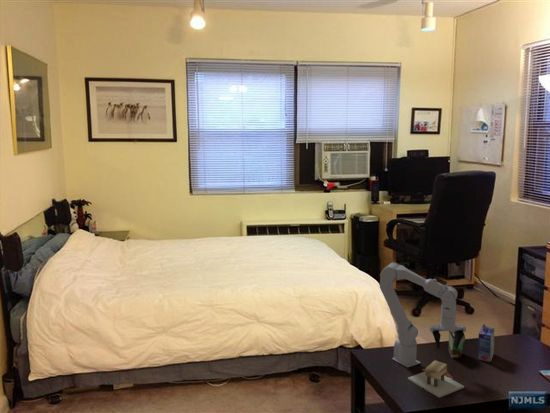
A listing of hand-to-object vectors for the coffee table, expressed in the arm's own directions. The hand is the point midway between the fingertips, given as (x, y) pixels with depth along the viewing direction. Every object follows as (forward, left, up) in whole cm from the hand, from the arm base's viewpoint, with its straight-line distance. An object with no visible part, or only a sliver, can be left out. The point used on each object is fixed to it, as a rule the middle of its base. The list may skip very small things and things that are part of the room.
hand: (446, 347), depth 197 cm
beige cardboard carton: (+5, -12, -10) cm, 16 cm away
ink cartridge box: (0, +26, -11) cm, 28 cm away
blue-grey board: (+5, -12, -10) cm, 17 cm away
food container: (-8, +17, -11) cm, 22 cm away
